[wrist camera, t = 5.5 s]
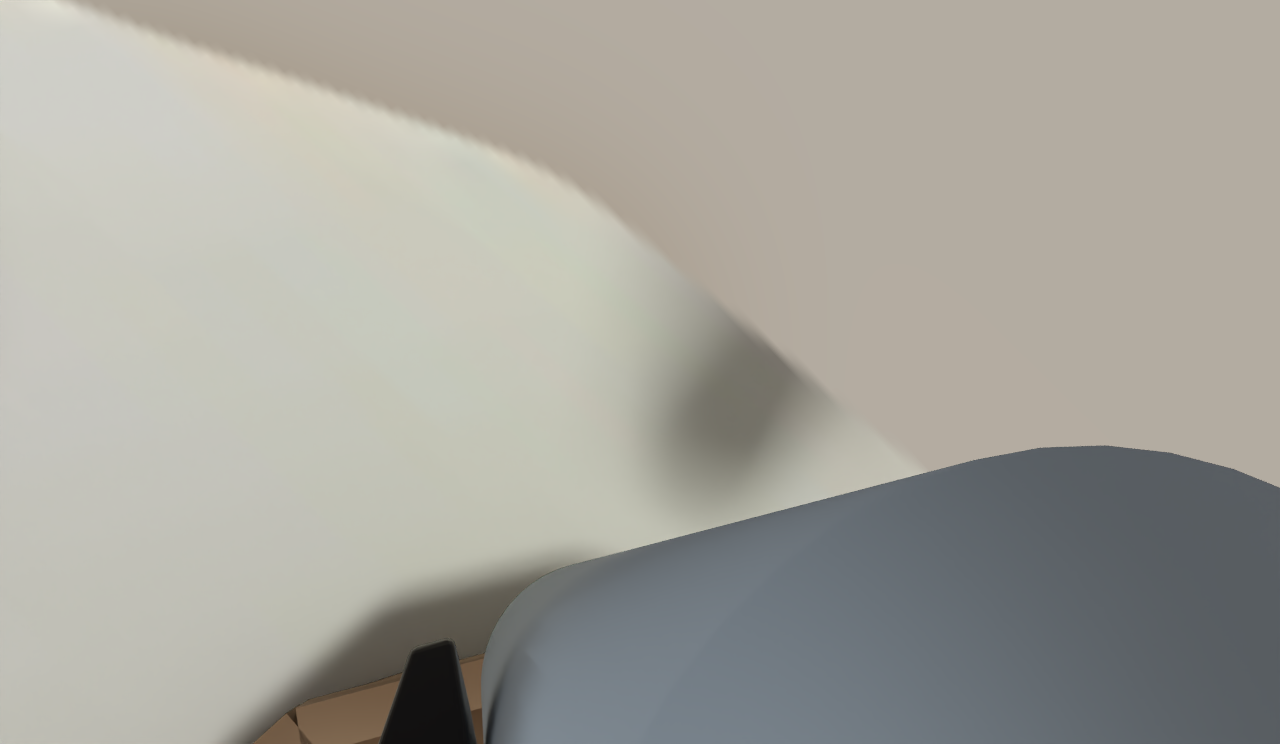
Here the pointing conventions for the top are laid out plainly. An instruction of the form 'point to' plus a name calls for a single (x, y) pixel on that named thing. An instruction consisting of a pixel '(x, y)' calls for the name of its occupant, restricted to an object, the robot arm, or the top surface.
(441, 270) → the top surface
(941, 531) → the peg
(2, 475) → the top surface
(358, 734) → the tray
